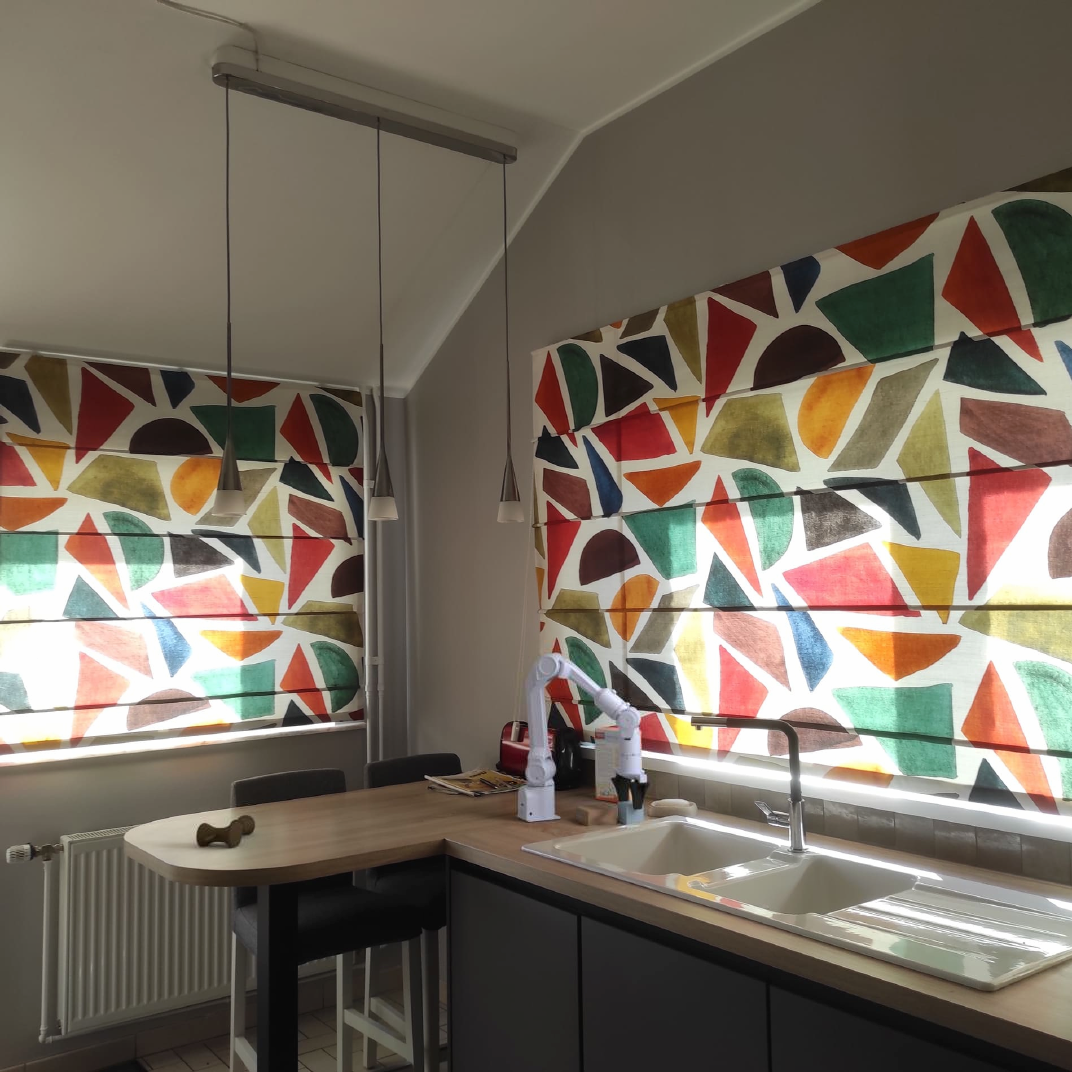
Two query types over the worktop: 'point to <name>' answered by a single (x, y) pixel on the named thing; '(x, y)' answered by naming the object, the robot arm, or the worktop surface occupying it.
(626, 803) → the slate cube
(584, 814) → the walnut block
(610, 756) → the cracker box
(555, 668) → the robot arm
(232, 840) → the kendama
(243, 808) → the worktop surface
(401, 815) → the worktop surface
